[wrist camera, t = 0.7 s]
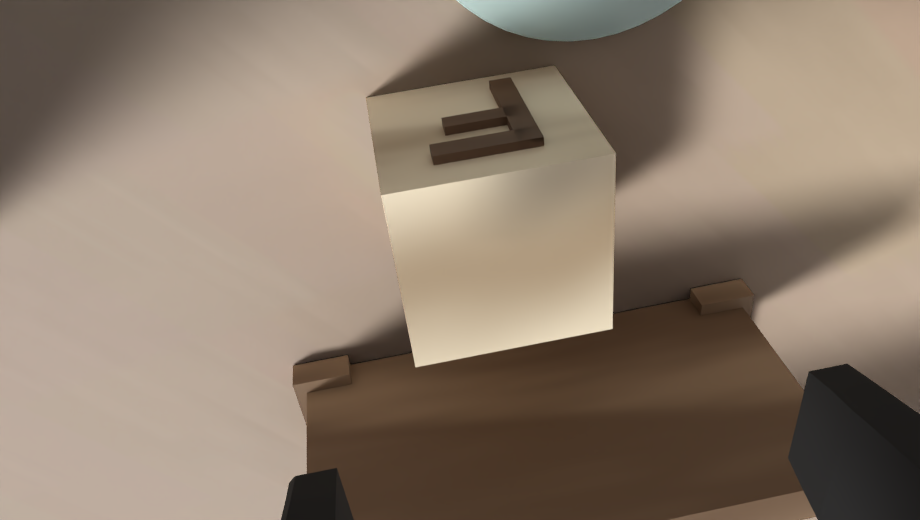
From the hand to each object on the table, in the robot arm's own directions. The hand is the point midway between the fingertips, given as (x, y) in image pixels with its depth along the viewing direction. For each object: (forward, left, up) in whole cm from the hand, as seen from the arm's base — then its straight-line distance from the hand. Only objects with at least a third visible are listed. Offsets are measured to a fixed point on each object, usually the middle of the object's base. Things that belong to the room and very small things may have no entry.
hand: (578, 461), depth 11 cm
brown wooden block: (-7, -1, -9) cm, 12 cm away
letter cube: (0, 0, -10) cm, 10 cm away
